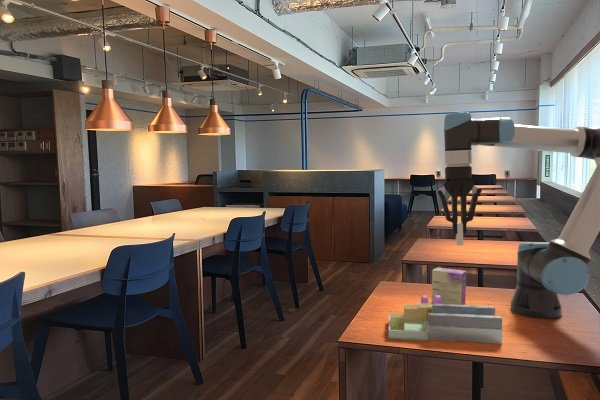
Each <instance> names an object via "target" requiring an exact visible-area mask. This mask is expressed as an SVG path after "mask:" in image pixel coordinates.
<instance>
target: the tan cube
mask: <svg viewBox="0 0 600 400" xmlns="http://www.w3.org/2000/svg"><path fill="white" fill-rule="evenodd" d="M403 313H404V320H405V323H419V315H418V305H416V304H403Z"/></svg>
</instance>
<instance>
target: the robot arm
mask: <svg viewBox="0 0 600 400" xmlns="http://www.w3.org/2000/svg"><path fill="white" fill-rule="evenodd" d="M443 121H444V123H443V124H444V125H443V132H444V133H443V136H444V165H445V168H444V174H445V175H444V179H445V180H444V183H443V186H442V187H441V188H439V189H436V191H435V192H436V194H437V195H438V197H439V199H440V202H441V205H442V209H443V210H442V211H443V213H444V216H445V220H446V221H447V222H450V223H452V224H451V226H452V234H453V235H455V236H456V238H455V239H456V241H455V243H456V246H464V234H465V235H466V234H467V223H469V222H472V221H473V220H474V217H475V212H476V207H477V203H478V199H479V196H480V195H481V194H482V191H483V190H482V188H480V187H477V186H476V185H475V184H474V182H473V172H472V171H473V169H472V166H471V164H473V161H472V157H473V156H472V146H475V147H477V146H485V147H498V148H509V149H519V150H520V149H521V150H533V151H540V152H552V153H553V152H554V153H563V154H565V153H566V154H569V155H570V156H572V157H573V158H584V159H588V160H593V161H594V162H595V168H594V171H593V172H592V174H591V176H590V178H589V180H588V182H587V183H586V186H585V187H584V190H583V191H582V193H581V195H580V196H579V199H578V201H577V203H576V204H575V206H574V209H573V210H572V212H571V214H570V216H569V218H568V219H567V221H566V224H565V225H564V227H563V228H562V231H561V233H560V235H559V236H558V237H557V238H555V239H551V240H550V241H549V242H545V241H541V242H540V241H537V242H536V241H534V242H532V241H527V242H523V241H522V242H520V243H519V244H518V246H517V247H518V248H517V252H516V253H517V254H516V255H517V266H516V267H517V268H516V269H517V272H516V273H517V274H516V287H515V291H514V293H513V295H512V298H511V300H510V311H512V312H513V313H514V314H517V315H521V316H523V317H528V318H535V319H556V318H560V317H561V316H562V311H563V310H562V304H561V301H560V298H559V295H560V296H561V295H562V296H571V295H574V294H578V293H579V292H580V291H583V289H584V288H585V287H586V286H587V285H588V282H589V280H590V272H589V271H590V270H589V267H588V265H589V264H590V263H591V260H592V258H591V255H590V253H589V252H590V249H591V247H592V245H593V244H594V243H595V240H596V238H597V236H598V235H599V233H600V125H598V126H576V127H574V128H564V127H550V126H539V125H538V126H536V125H528V124H527V125H525V124H517V123H516V124H515V122H514V121H513V119H512V118H511V117H501V116H499V117H488V118H487V117H486V118H472V115H471V112H469V111H460V112H458V111H457V112H450V113H447V114H446V115H445V116H444V120H443ZM446 192H447V193H448V194H449V196H450V197H451V213H450V209H449V206H448V202H447V198H446V196H445V195H446ZM470 192H471V193H472V196H471V200H470V203H469V204H470V205H469V208H468V213H467V196H468V195H469V194H470ZM458 198H459V200H460V222H458V220H459V219H458Z"/></svg>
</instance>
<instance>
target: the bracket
mask: <svg viewBox="0 0 600 400" xmlns="http://www.w3.org/2000/svg"><path fill="white" fill-rule="evenodd" d="M419 303H429V297H428V296H427V294H426V295H421V297H420V302H419ZM433 304H441V297H440V295H435V296H434V303H433ZM415 305H417V303H415Z"/></svg>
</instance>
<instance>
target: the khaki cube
mask: <svg viewBox="0 0 600 400" xmlns="http://www.w3.org/2000/svg"><path fill="white" fill-rule="evenodd" d="M390 330H404V312H403V313H401V312H390Z"/></svg>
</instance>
